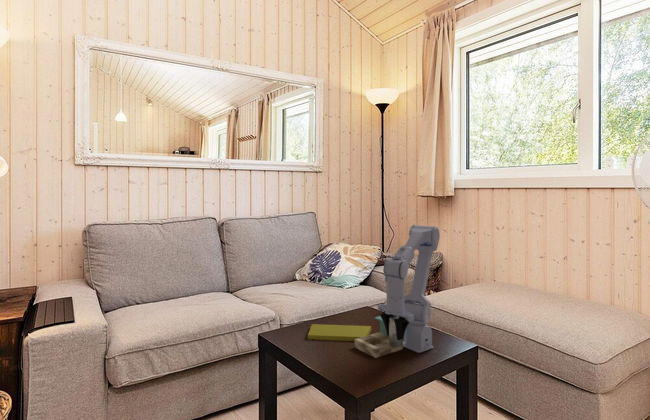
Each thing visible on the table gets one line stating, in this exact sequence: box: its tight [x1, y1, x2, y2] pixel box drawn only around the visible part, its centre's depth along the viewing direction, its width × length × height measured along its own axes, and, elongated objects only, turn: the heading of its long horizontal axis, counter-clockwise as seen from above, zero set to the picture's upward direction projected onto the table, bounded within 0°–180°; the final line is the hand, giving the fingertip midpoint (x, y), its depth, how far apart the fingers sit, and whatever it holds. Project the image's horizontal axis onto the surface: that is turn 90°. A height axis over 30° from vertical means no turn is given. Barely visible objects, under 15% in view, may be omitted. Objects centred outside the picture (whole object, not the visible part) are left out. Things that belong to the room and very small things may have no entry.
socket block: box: [354, 331, 404, 359], centre depth 142 cm, size 11×13×3 cm
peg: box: [389, 316, 401, 347], centre depth 131 cm, size 4×4×9 cm
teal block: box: [374, 315, 404, 342], centre depth 144 cm, size 11×4×6 cm, turn 35°
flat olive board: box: [307, 323, 372, 342], centre depth 155 cm, size 12×2×24 cm
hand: (395, 337), depth 131 cm, fingers closed on peg, 4 cm apart
